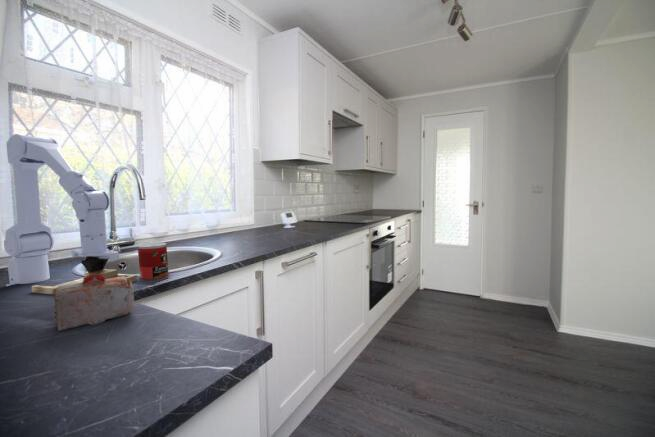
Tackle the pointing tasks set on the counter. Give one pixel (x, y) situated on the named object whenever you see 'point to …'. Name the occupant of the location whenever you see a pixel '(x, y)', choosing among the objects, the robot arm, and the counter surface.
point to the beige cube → (106, 273)
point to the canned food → (153, 260)
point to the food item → (92, 301)
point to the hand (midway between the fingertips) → (97, 283)
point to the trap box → (50, 289)
